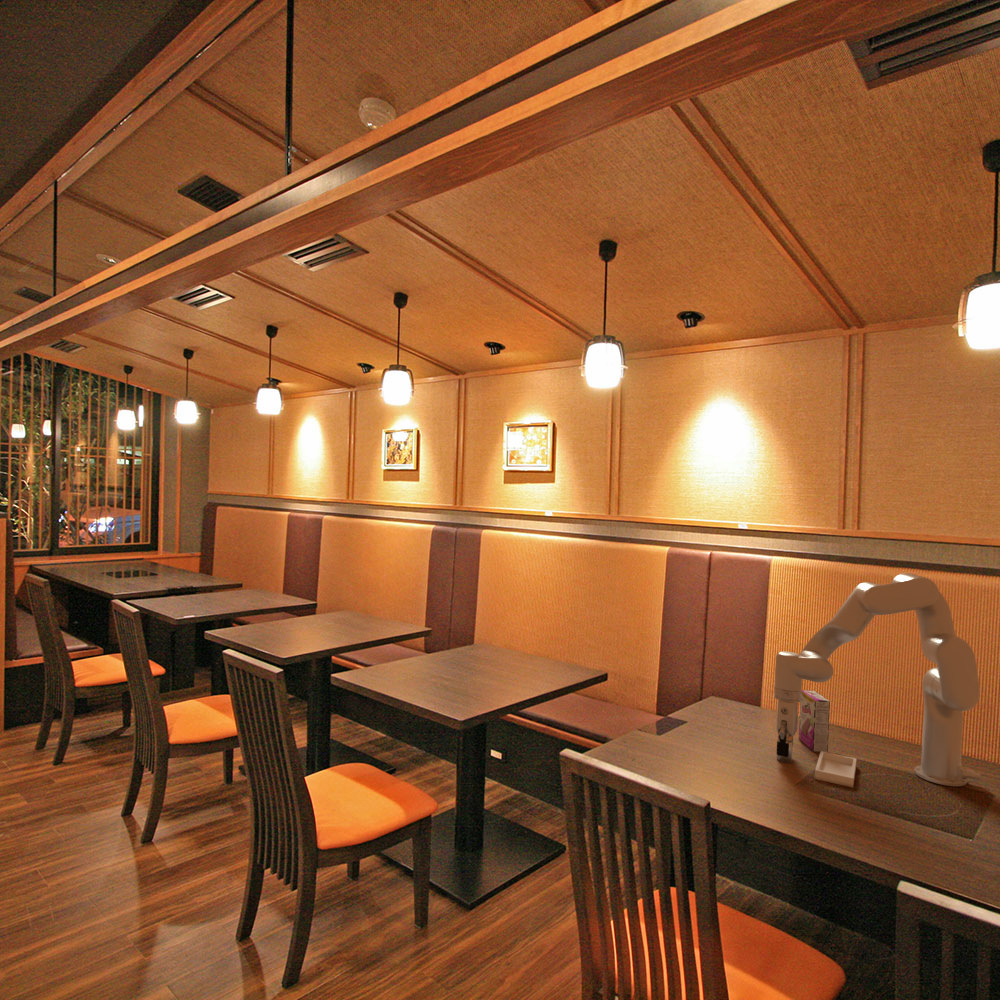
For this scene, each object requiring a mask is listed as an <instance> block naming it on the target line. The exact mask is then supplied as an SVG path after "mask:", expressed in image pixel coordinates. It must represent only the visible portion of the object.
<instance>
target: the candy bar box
mask: <svg viewBox="0 0 1000 1000" xmlns="http://www.w3.org/2000/svg"><path fill="white" fill-rule="evenodd" d="M830 707H831V700H829V699H828V698H826V697H824V696H823V695H822V694H820V693H818V692H817V691H816V690H806V689H805V690H804V689H802V691H801V702H799V724H798V726H799V727H798V728H799V729H798V740H799V741H801V743H802V744H803V745H805V746H806V747H808V748H809V750H811V751H812V752H813V753H820V752H821V751H823V752H828V753H829V735H830V734H829V733H830V732H829V731H830V712H831V711H830V709H831V708H830Z"/></svg>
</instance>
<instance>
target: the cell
mask: <svg viewBox="0 0 1000 1000" xmlns="http://www.w3.org/2000/svg"><path fill="white" fill-rule="evenodd" d="M787 733H788V732H787ZM778 734H779V733H777V735H778ZM792 742H793V743H794V736H792V735H789V739H788V743H789V755H788V757H784V756H779V755H777V754H776V760H777V761H779V762H781V763H786V764H790V763H792V759H793V746H792Z"/></svg>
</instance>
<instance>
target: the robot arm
mask: <svg viewBox="0 0 1000 1000" xmlns="http://www.w3.org/2000/svg"><path fill="white" fill-rule="evenodd" d="M910 611H914V612H915V615H916V619H917V622H918V629H919V637H920V645H921V650H922V654H923V656H924V657H925V658H926V659H927V660H929V661H930V662H932V663H933V664H936V667H932V668H929V669H928V670H927V671H926V672H925V673H924V675H923V677H922V696H923V719H922V720H923V721H922V737H921V738H922V739H921V740H922V741H921V742H922V743H921V760H920V765H917V766H914V774H915V775H917V776H918V777H920V778H921V779H923V780H925V781H928V782H930V783H934V784H938V785H942V786H948V787H963V786H966V785H967V781H968V780H967V778H968V779H970V780H971V779H972V780H974V781H981V773H978V772H975V770H971V769H966V768H964V767H963V765H962V749H963V747H962V745H963V744H962V743H963V727H964V712H967V711H970V710H972V709H974V708H975V707H976V706H977V704H978V703H979V701H980V697H981V690H980V689H981V688H980V681H979V674H978V667H977V660H976V655H975V652H974V651H973V649H972V646H970V644H969V643H968V642H967V641H966V640H964V639H963V638H961V637H959V636H957V635H956V631H955V630H956V629H955V625H954V621H953V620H954V619H953V617H952V612H951V611H952V610H951V609H950V605H949V604H948V602H947V600H946V598H945V597H944V595H943V594H942V593H941V592H940V590H939V587H938V584H936V582H934V581H933V580H932V579H930V578H928V577H925V576H921V575H917V574H914V573H910V572H903V573H899V574H898V575H895V576H894V578H893V579H892V580H891V583H883V584H879V583H876V582H871V581H865V582H861V583H859V584H857V586H855V587H854V589H853V590H852V592H851V593H849V596H848V597H847V598H846V599H845V601H844V602H843V604H842V605H841V606H840V608H839V609H838V611H837V612H836V613H835V615H834V616H833V617H832V618H831V620H829V621H828V622H827V623H826V624H824V625H823V627H822V628H820V629H819V630H818V631H817V632H815V634H813V635H812V637H811V638H810V639H809V641H808V642H806V643H807V644H806V645H805V646H804V647H803V648H802V650H801V652H799V653H796V652H793V651H786V650H784V651H779V652H778V653H776V655H775V667H774V669H775V670H774V686H773V687H774V690H773V691H774V692H773V698H774V699H776V700H777V709H776V733H777V741H776V756H777V755H779V756H784V757H788V755H789V743H788V739H789V735H792V736H793V737H794V736H795V735H796V732H797V731H798V716H799V715H798V714H799V712H798V709H799V707H798V706H799V704H798V703H800V702H801V691H802V690H803V687H802V686H803V680H805V681H806V680H807V681H810V682H814V683H826V682H828V681H829V680H831V678H832V677H833V675H834V667H833V665H832V662H830V661H829V660H828V659H829V658H830V657H831V655H832V654H833V653H834V652H835V651H836V650H837V649H839V647H840V646H842V645H844V644H846V643H849V642H852V641H854V640H857V639H858V638H860V636H862V634H863V632H864V631H865V629H866V628H867V627H868V625H869V624H870V623H871V622H872V620H873V619H874V618H875V616H876V615H877V616H885V615H894V614H898V613H903V612H904V613H906V612H910ZM787 732H788V733H787ZM778 733H779V734H778ZM793 743H794V741H793V742H792V747H793V745H794V744H793Z"/></svg>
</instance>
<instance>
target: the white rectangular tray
mask: <svg viewBox="0 0 1000 1000" xmlns="http://www.w3.org/2000/svg"><path fill="white" fill-rule="evenodd" d="M856 770H857V758H855V757H851V756H847V755H841V754H836V753H833V752H832V753H831V752H829V751H828V752H823V751H821V752H819V756H818V759H817V762H816V766H815V769H814V779H815V780H818V781H823V782H826V783H827V782H828V783H831V784H835V785H840V786H844V787H849V788H854V784H855V777H856Z"/></svg>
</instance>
